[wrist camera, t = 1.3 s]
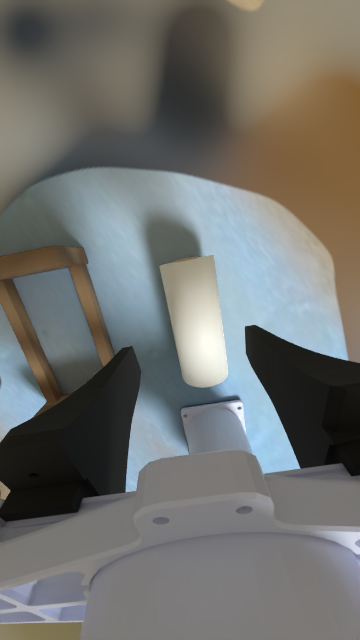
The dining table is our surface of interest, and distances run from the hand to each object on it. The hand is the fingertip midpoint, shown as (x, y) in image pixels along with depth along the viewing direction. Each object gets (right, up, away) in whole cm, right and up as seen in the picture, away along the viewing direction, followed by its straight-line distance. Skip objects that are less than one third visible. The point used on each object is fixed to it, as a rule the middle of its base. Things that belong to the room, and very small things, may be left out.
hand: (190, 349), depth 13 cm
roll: (+1, +2, +7) cm, 8 cm away
